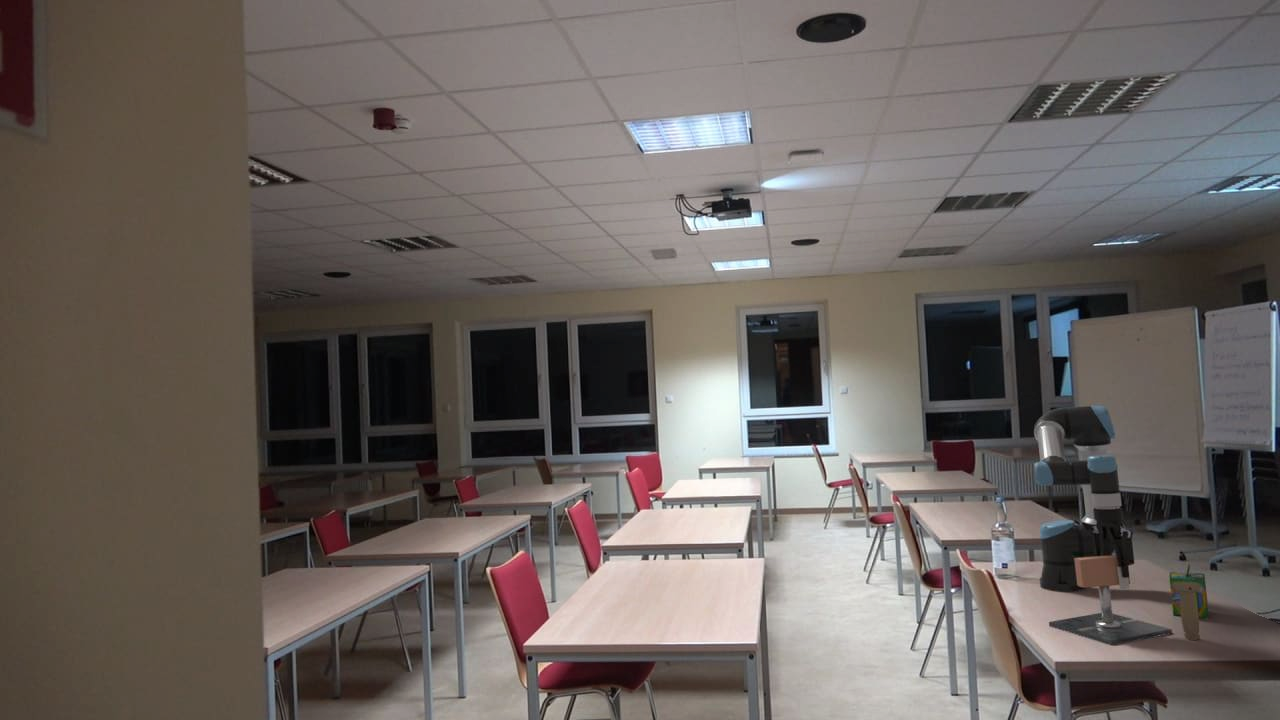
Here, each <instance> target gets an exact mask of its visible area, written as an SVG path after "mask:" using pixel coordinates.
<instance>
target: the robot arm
mask: <svg viewBox="0 0 1280 720" xmlns="http://www.w3.org/2000/svg"><path fill="white" fill-rule="evenodd" d="M1033 435H1034V438H1035V440H1036V441H1037V443H1038V444H1037V445H1038V452H1039V461H1037V462H1034V464H1033V465H1034V474H1035V475H1034V476H1035V483H1036V484H1037V485H1039V486H1048V487H1052V486H1073V485H1074V486H1079V485H1081V486H1082V490H1083V491H1082V492H1083V500H1084V509H1085V510H1084V511H1085V516H1083V518H1081V524H1076V522H1075V521H1074V520H1072V519H1069V520H1068V519H1063V520H1062V519H1061V520H1055V521H1054V520H1053V521H1049V522H1046V523H1043V524H1041V526H1040V527H1039V534H1040V535H1039V539H1040V543H1041V545H1040V546H1041V553H1042V555H1041V556H1042V564H1043V565H1042V570H1041V575H1040V577H1039V585H1040V588H1043V589H1046V590H1049V591H1050V590H1051V591H1055V590H1057V591H1056V592H1078V591H1079V590H1080V591H1083V590H1084V589H1085V590H1086V589H1088V588H1089V587H1085V588H1083V587H1080V586H1078V585H1077V578H1076V569H1075V560H1074V558H1083V557H1097V556H1110V555H1113V553H1116V555H1117V559H1118V562H1119V565H1118V566H1117V570H1118V578H1119V585H1118V586H1119V590H1126V589H1130V584H1129V581H1128V577H1130V570H1129V566H1132V565H1134V564H1135V556H1134V547H1133V536H1134V532H1133V530H1130V529H1129V530H1128V529H1126V526H1125V525H1124V524H1123V521H1124V512H1123V508H1121V507H1122V497H1121V489H1120V484H1119V483H1120V482H1119V481H1120V479H1119V473H1118V464H1117V459H1116V457H1115V456H1114V455H1111V454H1108V450H1107V449H1108V448H1109V447H1110V446H1111V444H1112V441H1111V439H1112V440H1114V439H1115V438H1116V434H1115V430H1114V425H1113V422H1112V419H1111V414H1110V412H1109V409H1108V408H1107V407H1106V406H1104V405H1084V406H1070V407H1059V408H1054V409H1051V410H1049V411H1047V412H1046V413H1044V414H1043V415H1042V416H1040V417H1039V418H1038V419H1037V421H1036V423H1035V424H1034V428H1033ZM1064 441H1072V445H1073V446H1074V447H1075V448H1077V449H1078V454H1079V456H1078V457H1079V460H1067V458H1066V452H1065V447H1064ZM1123 561H1124V562H1123ZM1112 586H1114V585H1112Z"/></svg>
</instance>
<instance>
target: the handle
mask: <svg viewBox="0 0 1280 720" xmlns="http://www.w3.org/2000/svg"><path fill="white" fill-rule="evenodd" d="M1172 587H1173V588H1174V589H1175V590H1177V591H1179V593H1180V603H1181V616H1180V619H1181V625H1182V630H1183V632H1184V633H1183V634H1184V638H1186V640H1190V639H1191V641H1196V640H1199V639H1200V634H1199V633H1200V621H1199V620H1200V617H1198V612H1197V607H1196V602H1195V596H1194V593H1195V592H1196V591H1198V590H1199V589H1200V584H1199V583H1195V582H1174V583H1172Z"/></svg>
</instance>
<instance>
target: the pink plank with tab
mask: <svg viewBox="0 0 1280 720" xmlns="http://www.w3.org/2000/svg"><path fill="white" fill-rule="evenodd" d="M1074 560H1075V569H1076V578H1077V585H1078V586H1080V587H1083V588H1085V587H1088V588H1095V587H1098V586H1109V587H1111V586H1112V585H1113V586H1119V578H1118V570H1117V566H1118V565H1119V562H1118V559H1117V555H1116V553H1113V555H1110V556H1097V557H1083V558H1074ZM1123 562H1124V561H1123ZM1128 581H1129V585H1131V577H1130V576H1129V577H1128ZM1098 588H1099V587H1098Z"/></svg>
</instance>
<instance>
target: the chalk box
mask: <svg viewBox="0 0 1280 720" xmlns="http://www.w3.org/2000/svg"><path fill="white" fill-rule="evenodd" d="M1190 569H1191V565H1190V563H1188V565H1187V569H1186V572H1183V571H1182V572H1181V571H1169V585H1170V588H1169V589H1170V595H1171V596H1170V597H1171V606H1172V607H1171V608H1172V615H1173V616H1180V617H1181V603H1180V593H1179V591H1177V590H1175V589H1174V588H1173V587H1172V583H1174V582H1195V583H1199V584H1200V589H1199V590H1198V591H1196V592H1195V593H1194V596H1195V602H1196V607H1197V612H1198V618H1204V617H1209V618H1210V612H1209V610H1210V609H1209V603H1208V595H1207V594H1208V593H1207V585H1206V577H1205V573H1198V572H1197V573H1196V572H1194V573H1193V572H1190Z"/></svg>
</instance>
